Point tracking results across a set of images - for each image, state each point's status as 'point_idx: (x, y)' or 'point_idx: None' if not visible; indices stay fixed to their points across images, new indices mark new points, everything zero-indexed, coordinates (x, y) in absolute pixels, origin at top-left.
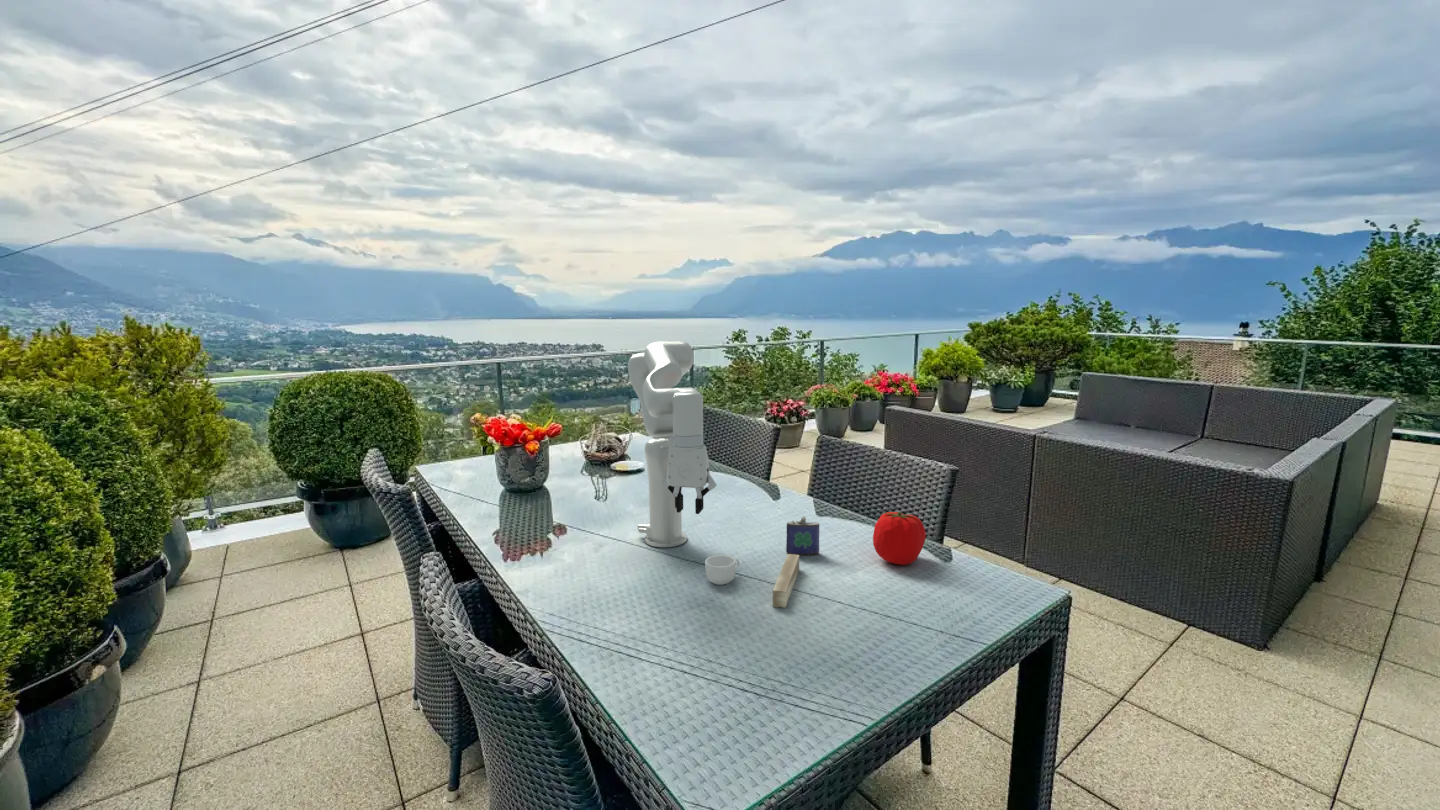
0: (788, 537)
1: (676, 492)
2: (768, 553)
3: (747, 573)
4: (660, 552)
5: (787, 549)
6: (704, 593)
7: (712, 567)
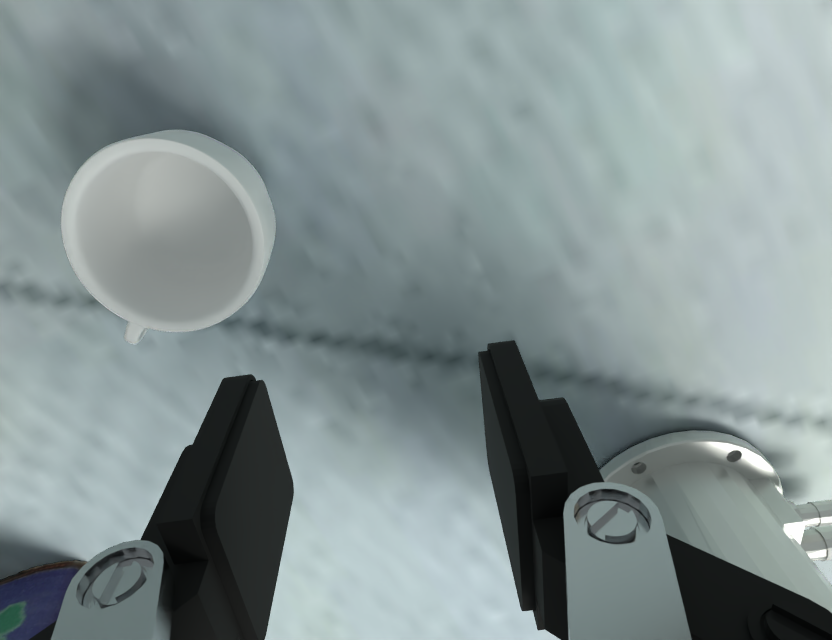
0: None
1: (601, 558)
2: None
3: None
4: (651, 390)
5: None
6: (197, 15)
7: (161, 136)
